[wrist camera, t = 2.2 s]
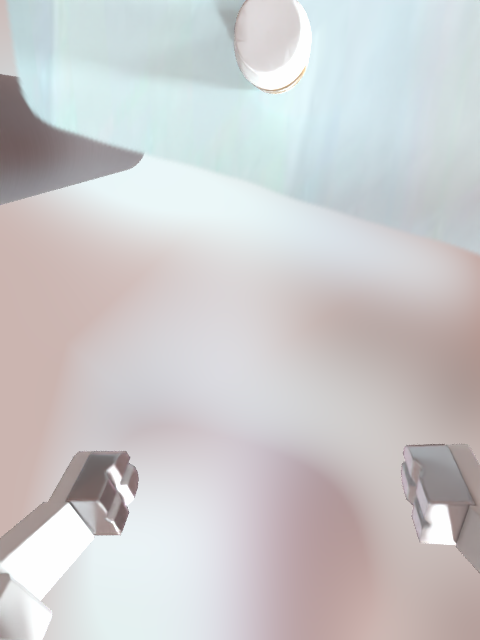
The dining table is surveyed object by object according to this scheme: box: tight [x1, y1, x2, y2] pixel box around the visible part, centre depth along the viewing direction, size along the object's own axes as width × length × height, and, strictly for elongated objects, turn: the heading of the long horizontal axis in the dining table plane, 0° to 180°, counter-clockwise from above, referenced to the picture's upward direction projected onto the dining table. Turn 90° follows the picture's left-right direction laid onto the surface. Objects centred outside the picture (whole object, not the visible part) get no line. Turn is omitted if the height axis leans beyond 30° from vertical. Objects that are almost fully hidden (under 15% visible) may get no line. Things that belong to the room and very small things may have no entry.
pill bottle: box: [234, 0, 311, 94], centre depth 21 cm, size 4×4×8 cm
